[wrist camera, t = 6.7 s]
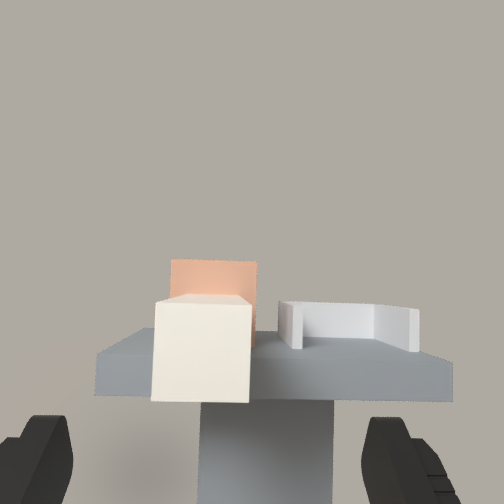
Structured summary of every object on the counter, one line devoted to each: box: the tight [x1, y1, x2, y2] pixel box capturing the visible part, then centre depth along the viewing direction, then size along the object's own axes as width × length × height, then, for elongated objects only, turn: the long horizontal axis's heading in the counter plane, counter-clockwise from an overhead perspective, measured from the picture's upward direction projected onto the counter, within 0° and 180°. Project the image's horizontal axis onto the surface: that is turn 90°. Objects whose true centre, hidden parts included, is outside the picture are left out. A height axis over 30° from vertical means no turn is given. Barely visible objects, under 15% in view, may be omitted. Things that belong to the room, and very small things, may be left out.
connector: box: [151, 259, 257, 403], centre depth 22 cm, size 5×17×5 cm, turn 4°
